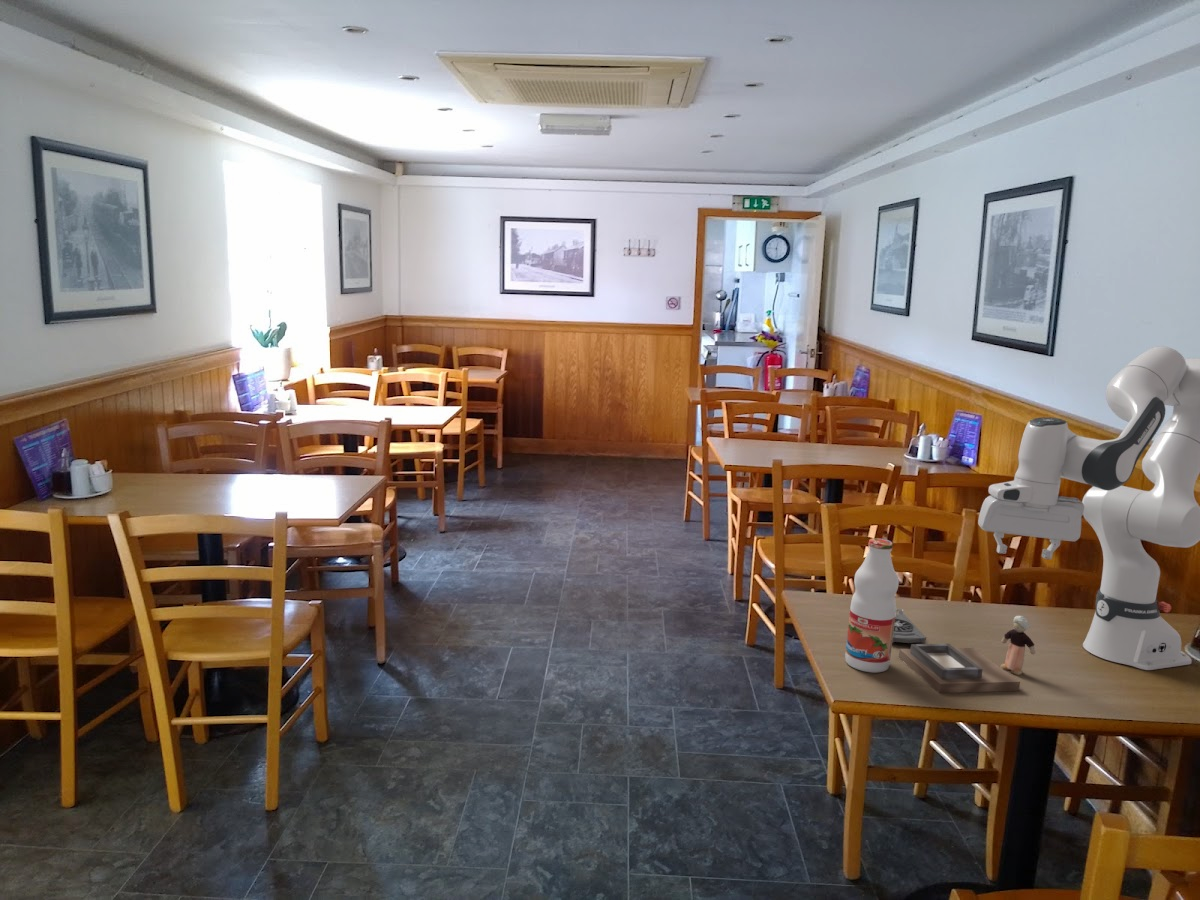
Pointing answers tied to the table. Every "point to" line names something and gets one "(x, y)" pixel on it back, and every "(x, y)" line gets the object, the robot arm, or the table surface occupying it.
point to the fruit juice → (873, 610)
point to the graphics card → (906, 630)
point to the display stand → (957, 669)
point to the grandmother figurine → (1017, 645)
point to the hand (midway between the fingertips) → (1023, 555)
